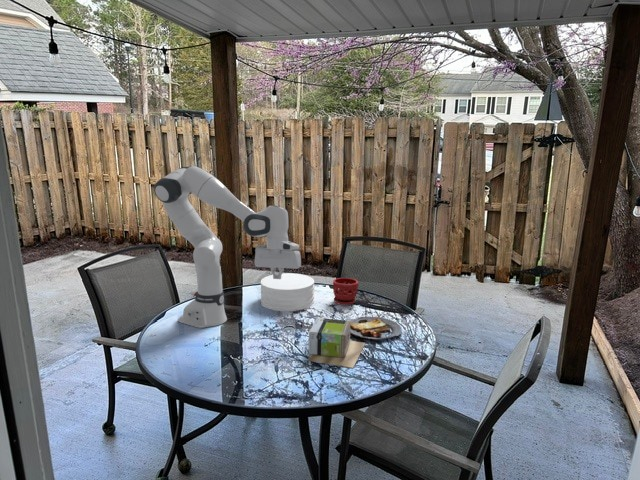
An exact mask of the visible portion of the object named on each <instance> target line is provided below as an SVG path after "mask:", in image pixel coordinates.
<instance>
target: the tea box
mask: <svg viewBox="0 0 640 480" xmlns="http://www.w3.org/2000/svg"><path fill="white" fill-rule="evenodd" d="M350 341H351V333H350V320H348V319H347V320H346V319H345V320H344V319H335V318H324V317H316V319H315V321H314V322H313V324H312V326H311V328H310V330H309V331H308V354H309V355H311V354H314V355H323V356H332V357H341V358H345V356H346V353H347V350H348V346H349V343H350Z"/></svg>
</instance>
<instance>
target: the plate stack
mask: <svg viewBox="0 0 640 480" xmlns="http://www.w3.org/2000/svg"><path fill="white" fill-rule="evenodd" d="M260 304H261V305H262V307H263V308H266V309H269V310H271V311H276V312H277V311H278V312H295V311H302V310H305V309H309V308H310V307H312V306H313V305H314V304H315V280H314V278H313V277H311V276H308V275H305V274H302V273H288V272H287V273H284V272H283V273H282V275H281V279H273V274H270V275H268V276H265V277H263V278H262V279H261V280H260Z"/></svg>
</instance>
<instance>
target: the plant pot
mask: <svg viewBox="0 0 640 480" xmlns="http://www.w3.org/2000/svg"><path fill="white" fill-rule="evenodd" d="M332 286H333V287H332V291H333V295H334V298H333V301H334V303H336V304H338V305H341V306H351V305H354V303H356V301H357V299H356V297H357V294H358V290H359V281H358V280H357V279H355V278H351V277H350V278H349V277H338V278H335V279H333V281H332Z"/></svg>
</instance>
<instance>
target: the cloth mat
mask: <svg viewBox="0 0 640 480" xmlns="http://www.w3.org/2000/svg"><path fill="white" fill-rule="evenodd" d="M365 346H366V342H361V341H355V340H350V343H349V346H348V350H347V353H346V356H345V358H341V357H332V356H323V355H314V354H310V356H309V357H308V359H307V361H308V362H314V363H319V364H325V365H330V366H338V367H342V368H348V369H349V368H350V369H354V367H355V365H356V363H357V361H358V359H359V357H360V355H361V353H362V351H363V349H364V347H365Z"/></svg>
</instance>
